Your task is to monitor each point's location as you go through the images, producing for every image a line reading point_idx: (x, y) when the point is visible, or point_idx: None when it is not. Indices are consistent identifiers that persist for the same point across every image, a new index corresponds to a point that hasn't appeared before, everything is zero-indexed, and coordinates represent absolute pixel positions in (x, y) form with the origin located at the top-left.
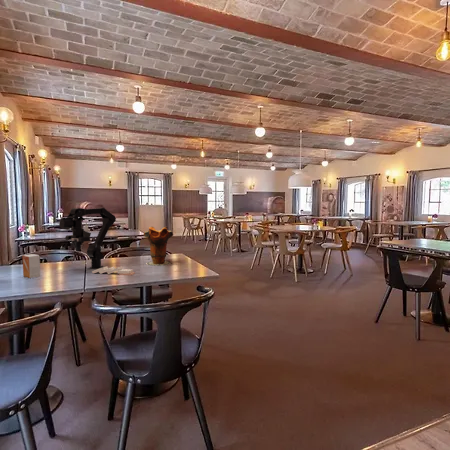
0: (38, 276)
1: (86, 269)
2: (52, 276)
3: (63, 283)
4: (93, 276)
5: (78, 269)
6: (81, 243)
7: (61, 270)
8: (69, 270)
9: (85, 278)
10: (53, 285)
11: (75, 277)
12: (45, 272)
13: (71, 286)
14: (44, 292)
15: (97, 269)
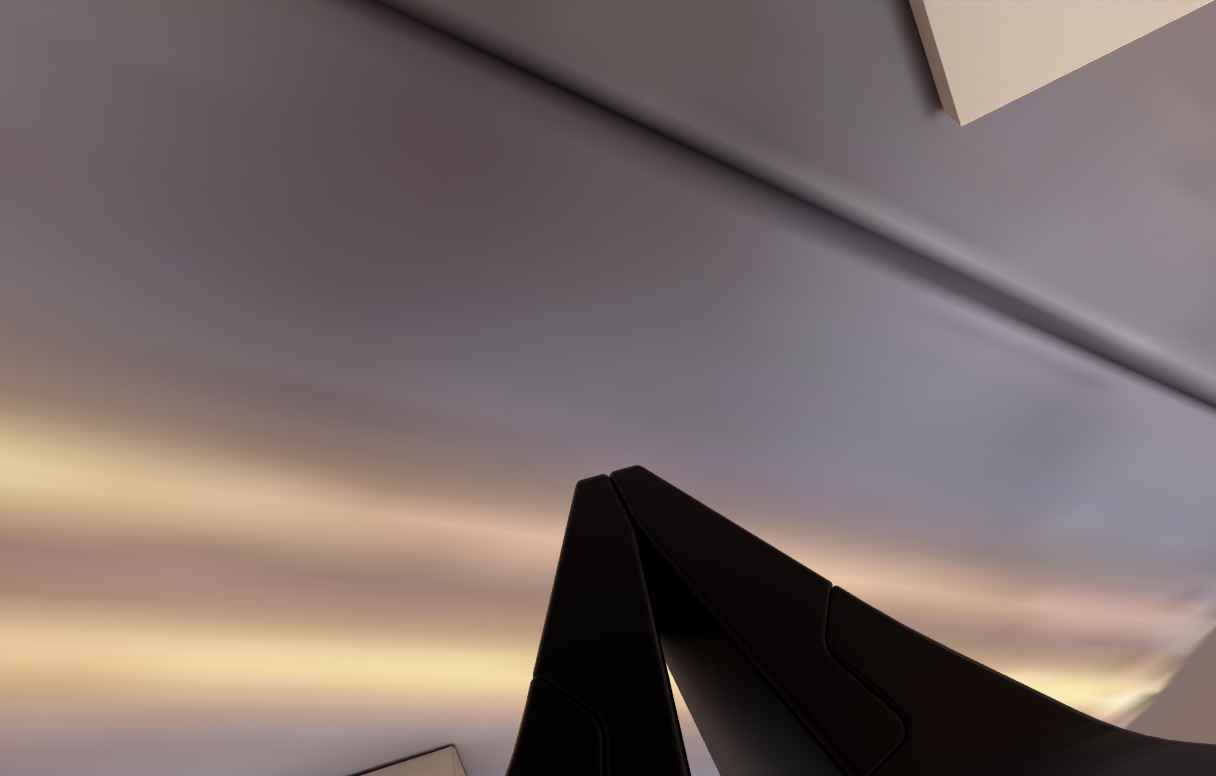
0: (459, 760)
1: (426, 3)
2: None
3: (1037, 583)
4: (1105, 199)
5: (283, 162)
6: (1100, 748)
7: (159, 473)
8: (273, 354)
9: (1087, 338)
10: (1013, 658)
11: (917, 423)
12: (189, 692)
13: (1198, 545)
14: (1127, 717)
15: (1109, 51)
